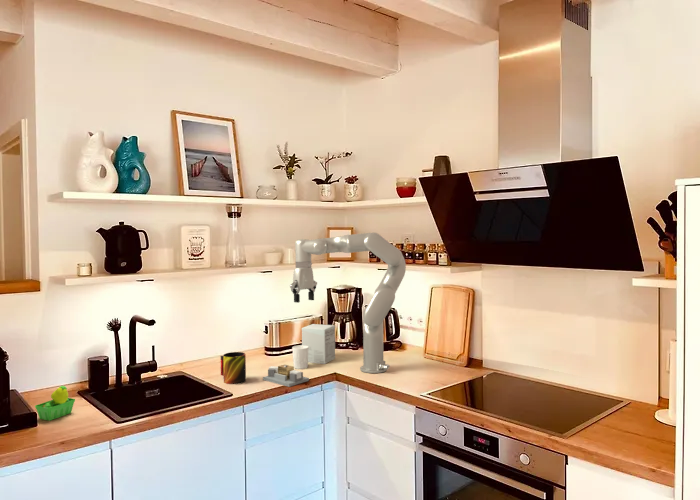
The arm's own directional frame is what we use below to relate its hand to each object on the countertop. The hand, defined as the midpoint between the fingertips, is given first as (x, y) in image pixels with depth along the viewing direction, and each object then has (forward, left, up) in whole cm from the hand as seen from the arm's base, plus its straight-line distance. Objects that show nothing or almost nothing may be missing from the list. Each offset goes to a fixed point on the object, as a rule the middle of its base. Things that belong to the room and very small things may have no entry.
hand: (304, 301), depth 253 cm
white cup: (+5, -2, -33) cm, 34 cm away
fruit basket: (+25, +102, -33) cm, 110 cm away
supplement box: (+8, -18, -33) cm, 39 cm away
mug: (+13, +34, -33) cm, 49 cm away
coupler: (-6, +18, -32) cm, 37 cm away
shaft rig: (-6, +18, -33) cm, 38 cm away
